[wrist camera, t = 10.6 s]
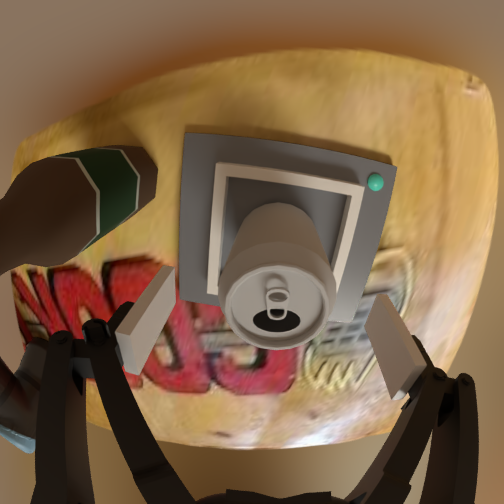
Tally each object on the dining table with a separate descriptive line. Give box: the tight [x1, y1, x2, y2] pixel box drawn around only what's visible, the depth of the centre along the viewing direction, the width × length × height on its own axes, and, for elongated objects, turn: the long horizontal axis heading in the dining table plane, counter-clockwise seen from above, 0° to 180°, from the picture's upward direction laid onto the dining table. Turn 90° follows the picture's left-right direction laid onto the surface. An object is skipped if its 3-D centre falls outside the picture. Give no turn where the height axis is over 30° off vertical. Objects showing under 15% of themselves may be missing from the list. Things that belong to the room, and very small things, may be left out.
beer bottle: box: [0, 145, 158, 275], centre depth 15 cm, size 8×8×24 cm
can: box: [218, 202, 337, 350], centre depth 21 cm, size 8×8×12 cm
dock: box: [179, 133, 397, 323], centre depth 26 cm, size 20×18×2 cm
